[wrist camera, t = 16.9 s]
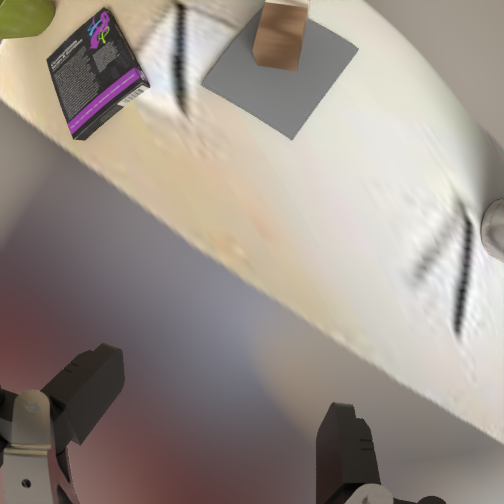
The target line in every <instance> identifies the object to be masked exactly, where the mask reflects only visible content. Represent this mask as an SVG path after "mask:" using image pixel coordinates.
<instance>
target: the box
mask: <svg viewBox="0 0 504 504" xmlns="http://www.w3.org/2000/svg"><path fill="white" fill-rule="evenodd" d="M46 60H47V64H48V67H49V71H50V74H51V78H52V81H53V84H54V87H55V90H56V93H57V96H58V99H59V102H60V105H61V108H62V111H63V114H64V116H65V119H66V122H67V124H68V127H69V130H70V132H71V135H72V137H73V140H86V139H87V138H88V137H89V136H90V135H91V134H93V133H94V132H95V131H96V130H97V129H98V128H99V127H100V126H102V125H103V124H104V123H105V122H106V121H107V120H109V119H110V118H111V117H112V116H113V115H115V114H116V113H117V112H118V111H119V110H121V109H122V108H123V107H124V106H126V105H127V104H128V103H130V102H131V101H132V100H134V99H135V98H136V97H138V96H139V95H140V94H142V93H143V92H144V91H146V90H147V89H148V88H150V85H149V83H148V81H147V79H146V77H145V75H144V73H143V71H142V70H141V68H140V66H139V64H138V62H137V60H136V58H135V56H134V54H133V53H132V51H131V49H130V47H129V45H128V43H127V41H126V39H125V38H124V36H123V34H122V32H121V30H120V28H119V26H118V24H117V22H116V21H115V19H114V17H113V15H112V13H111V12H110V11H109V10H107V9H106V8H105V7H103V8H102V9H101V10H100V11H99V12H98V13H96V14H95V15H94V16H93V17H92V18H90V19H89V20H88V21H87V22H86V23H84V24H83V25H82V26H81V27H80V28H79V29H77V30H76V31H75V32H74V33H73V34H72V35H71V36H70V37H69V38H68V39H67V40H66V41H65V42H64V43H63V44H62V45H61V46H60V47H59V48H58V49H57V50H56V51H55V52H54V53H53V54H52V55H51V56H49V57H48V58H47V59H46Z"/></svg>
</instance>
